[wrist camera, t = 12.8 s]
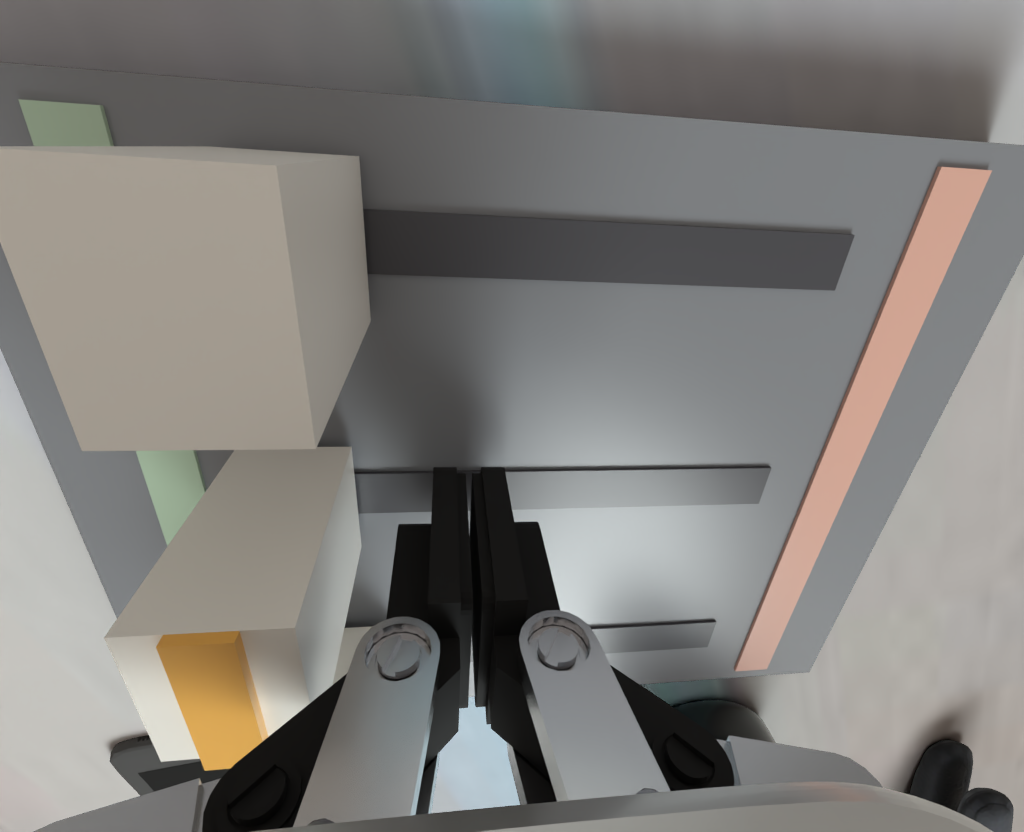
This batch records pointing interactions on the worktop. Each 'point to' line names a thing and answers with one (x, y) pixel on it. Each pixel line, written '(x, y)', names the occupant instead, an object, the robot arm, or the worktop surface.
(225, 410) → the block
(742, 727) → the supplement bottle
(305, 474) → the handle
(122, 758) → the cell phone
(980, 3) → the worktop surface
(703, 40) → the worktop surface
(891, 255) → the breaker board
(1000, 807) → the can opener
